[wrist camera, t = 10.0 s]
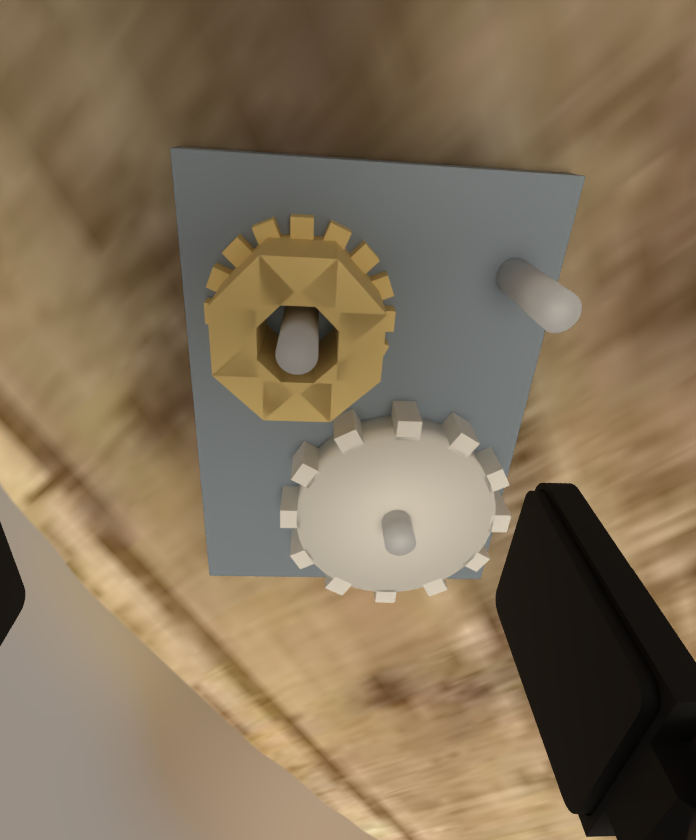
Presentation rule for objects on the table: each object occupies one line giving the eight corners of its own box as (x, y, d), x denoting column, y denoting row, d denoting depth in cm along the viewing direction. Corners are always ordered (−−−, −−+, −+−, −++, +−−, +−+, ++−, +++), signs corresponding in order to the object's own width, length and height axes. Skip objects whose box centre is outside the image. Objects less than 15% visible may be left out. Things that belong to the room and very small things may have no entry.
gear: (200, 208, 20) (175, 225, 17) (402, 219, 21) (418, 238, 18) (214, 391, 24) (196, 435, 21) (384, 396, 25) (394, 441, 21)
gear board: (179, 146, 21) (126, 154, 15) (569, 173, 22) (656, 190, 16) (214, 556, 31) (190, 651, 26) (474, 560, 33) (505, 652, 27)
